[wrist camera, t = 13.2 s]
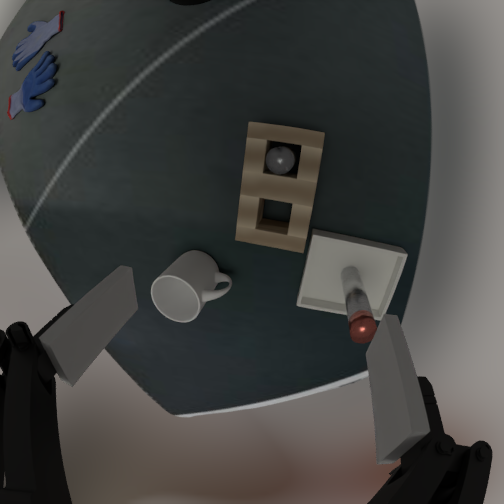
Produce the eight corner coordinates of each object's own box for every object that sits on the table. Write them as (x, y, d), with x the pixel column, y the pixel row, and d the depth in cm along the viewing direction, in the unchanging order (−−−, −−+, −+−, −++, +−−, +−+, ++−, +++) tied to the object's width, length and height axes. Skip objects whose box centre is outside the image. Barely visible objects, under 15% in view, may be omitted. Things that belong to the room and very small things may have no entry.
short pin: (276, 144, 39) (267, 144, 31) (298, 148, 39) (295, 149, 31) (273, 166, 41) (264, 171, 33) (295, 169, 40) (291, 176, 32)
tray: (312, 228, 43) (312, 234, 41) (402, 247, 41) (407, 254, 38) (297, 296, 49) (296, 305, 46) (379, 311, 46) (382, 320, 44)
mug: (240, 293, 51) (224, 328, 41) (182, 288, 53) (157, 318, 43) (237, 249, 47) (218, 278, 38) (175, 248, 50) (145, 273, 40)
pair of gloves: (19, 40, 36) (11, 39, 33) (71, -4, 30) (62, -7, 27) (13, 129, 48) (4, 130, 45) (61, 96, 42) (50, 96, 39)
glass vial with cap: (343, 264, 44) (355, 320, 30) (362, 267, 43) (381, 323, 29) (338, 281, 45) (346, 341, 31) (356, 285, 45) (371, 344, 31)
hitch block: (257, 124, 39) (248, 121, 33) (322, 134, 37) (324, 132, 32) (244, 227, 46) (235, 240, 40) (304, 238, 44) (303, 252, 39)
